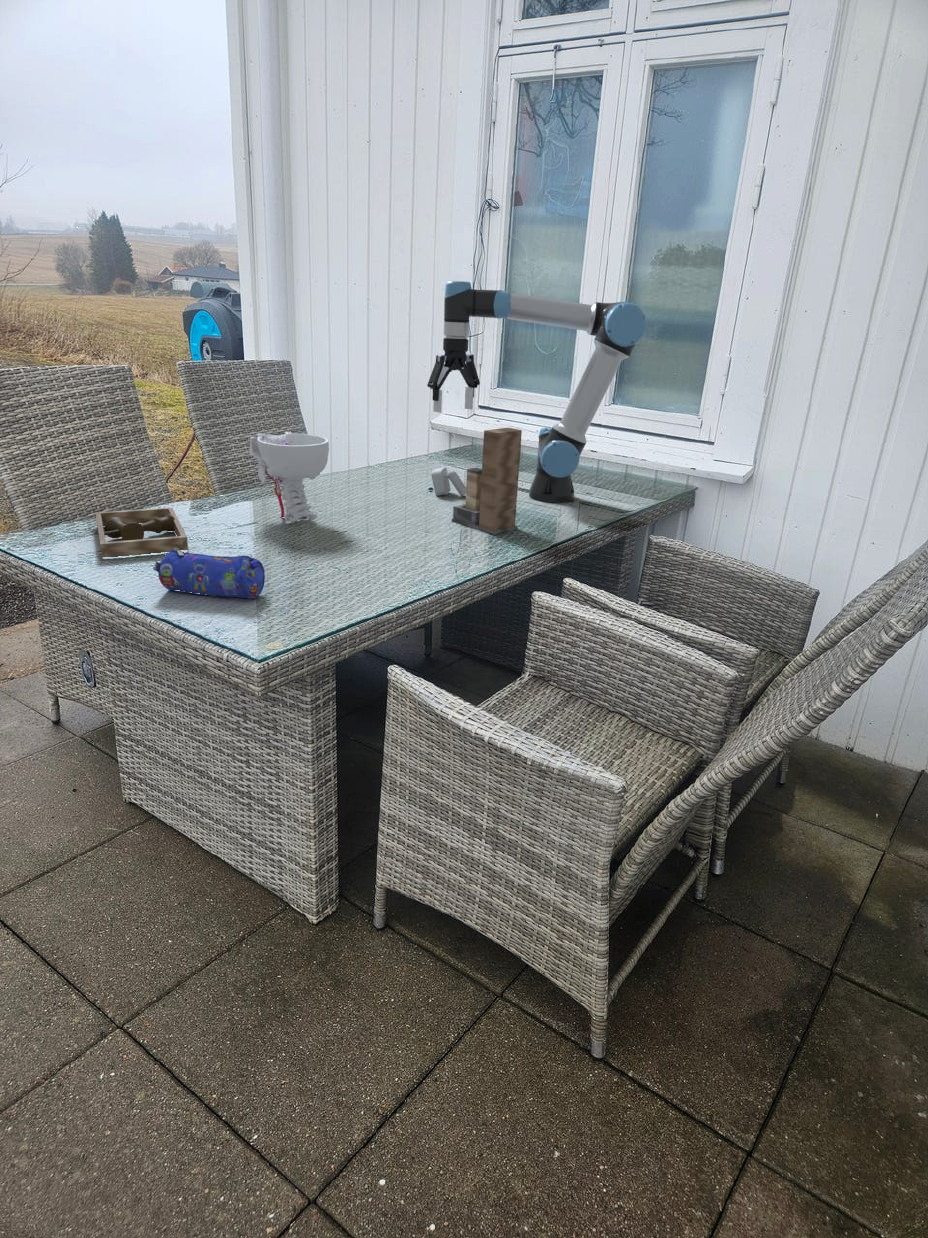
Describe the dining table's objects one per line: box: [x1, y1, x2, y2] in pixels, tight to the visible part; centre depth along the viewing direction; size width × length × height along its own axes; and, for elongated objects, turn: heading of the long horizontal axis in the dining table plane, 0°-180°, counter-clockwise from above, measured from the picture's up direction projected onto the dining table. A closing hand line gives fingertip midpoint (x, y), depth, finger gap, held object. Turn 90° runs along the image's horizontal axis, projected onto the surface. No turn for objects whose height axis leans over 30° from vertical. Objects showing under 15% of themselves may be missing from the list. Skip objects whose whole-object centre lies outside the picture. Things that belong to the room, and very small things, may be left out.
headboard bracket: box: [451, 427, 523, 536], centre depth 221 cm, size 10×17×28 cm, turn 46°
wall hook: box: [431, 466, 466, 497], centre depth 257 cm, size 8×10×10 cm
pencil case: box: [153, 548, 266, 600], centre depth 166 cm, size 22×9×10 cm, turn 80°
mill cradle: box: [94, 506, 189, 557], centre depth 199 cm, size 19×29×4 cm, turn 26°
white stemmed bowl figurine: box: [248, 431, 330, 523], centre depth 220 cm, size 25×19×23 cm
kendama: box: [104, 514, 175, 541], centre depth 198 cm, size 6×10×20 cm
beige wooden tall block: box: [464, 467, 482, 511], centre depth 226 cm, size 4×4×15 cm
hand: (453, 410), depth 239 cm, fingers open, 13 cm apart
